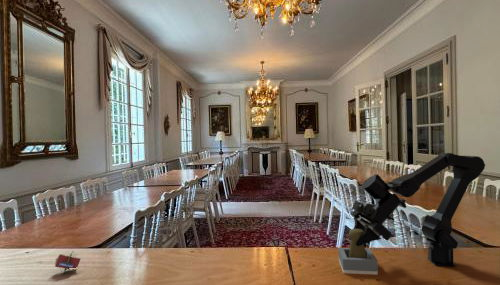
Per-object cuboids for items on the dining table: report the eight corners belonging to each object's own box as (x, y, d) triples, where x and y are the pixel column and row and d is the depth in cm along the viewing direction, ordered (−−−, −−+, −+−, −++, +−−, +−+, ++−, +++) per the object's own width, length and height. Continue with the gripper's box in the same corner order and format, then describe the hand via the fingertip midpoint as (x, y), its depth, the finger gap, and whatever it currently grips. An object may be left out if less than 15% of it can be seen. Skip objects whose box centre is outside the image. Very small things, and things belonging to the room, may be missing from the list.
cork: (371, 263, 101) (370, 230, 101) (356, 267, 99) (355, 233, 99) (358, 257, 106) (357, 226, 106) (344, 260, 104) (343, 228, 104)
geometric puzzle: (87, 259, 109) (71, 243, 108) (83, 267, 103) (66, 250, 101) (69, 274, 108) (53, 258, 106) (64, 282, 101) (46, 265, 100)
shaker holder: (370, 261, 107) (369, 248, 107) (377, 274, 96) (377, 260, 96) (338, 260, 109) (338, 247, 109) (343, 273, 98) (343, 259, 98)
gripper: (355, 188, 112) (327, 219, 111) (380, 197, 93) (346, 235, 93) (377, 208, 112) (349, 239, 112) (406, 221, 94) (372, 259, 93)
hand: (353, 242), depth 102 cm, fingers closed on cork, 5 cm apart
